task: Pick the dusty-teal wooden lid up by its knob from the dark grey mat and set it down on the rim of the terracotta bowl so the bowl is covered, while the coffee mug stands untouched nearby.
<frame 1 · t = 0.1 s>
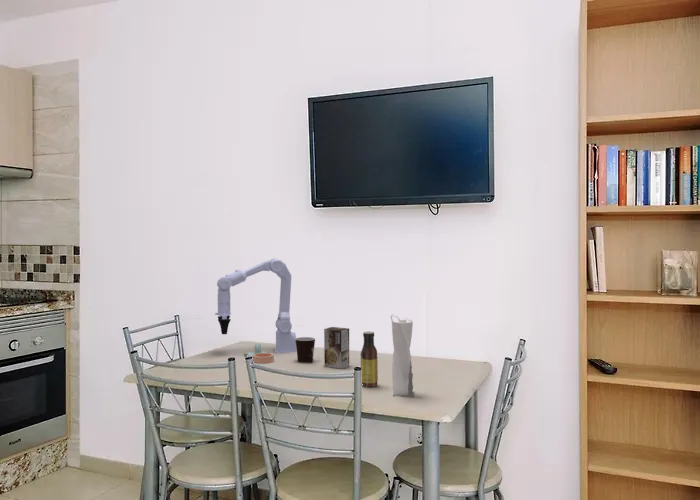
hand: (224, 332, 269), 10 cm above the table, tool pointing down, fingers open, 7 cm apart
skyscraper: (401, 394, 205), on the table
mat: (257, 356, 266), on the table
cookie box: (336, 366, 247), on the table
coffee mug: (307, 361, 256), on the table
bowl: (263, 361, 254), on the table
lid: (257, 355, 266), resting on mat
sauce bottle: (369, 386, 216), on the table
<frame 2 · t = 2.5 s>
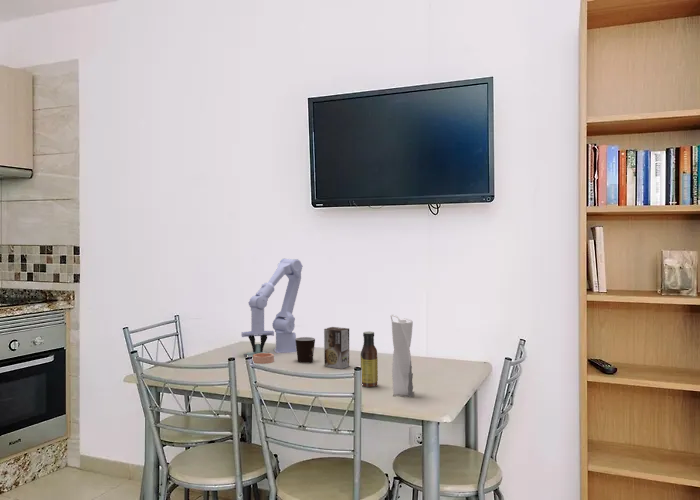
hand: (257, 351, 266), 2 cm above the table, tool pointing down, fingers closed on lid, 3 cm apart
lid: (257, 355, 266), resting on mat, touching gripper
everything else where it was.
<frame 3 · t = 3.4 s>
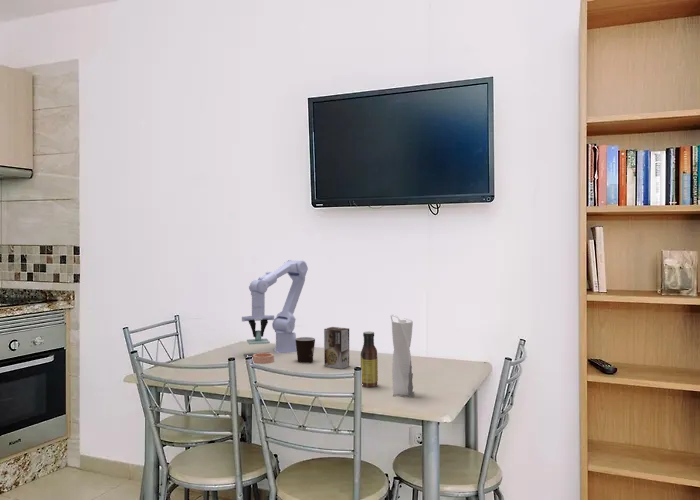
hand: (258, 336, 264), 9 cm above the table, tool pointing down, fingers closed on lid, 3 cm apart
lid: (258, 342, 264), point 7 cm above the table, touching gripper
everything else where it was.
when the fingers open (6 cm above the table, at t = 5.0 s): lid stays where it is, resting on bowl.
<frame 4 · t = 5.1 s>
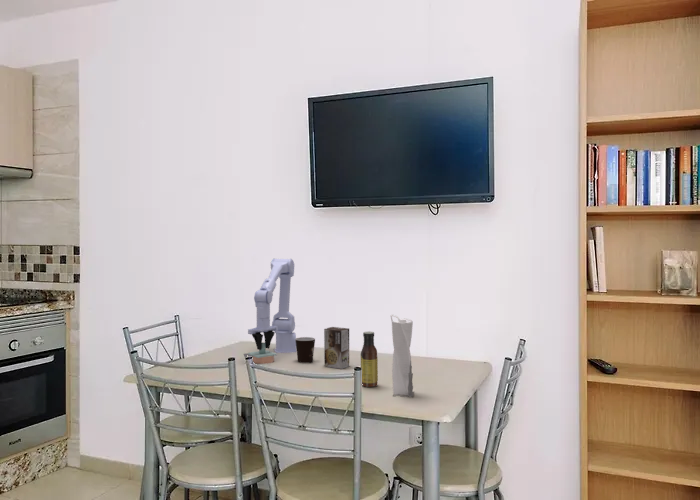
hand: (263, 348, 254), 6 cm above the table, tool pointing down, fingers open, 4 cm apart
lid: (262, 354, 255), point 3 cm above the table, touching bowl
everything else where it was.
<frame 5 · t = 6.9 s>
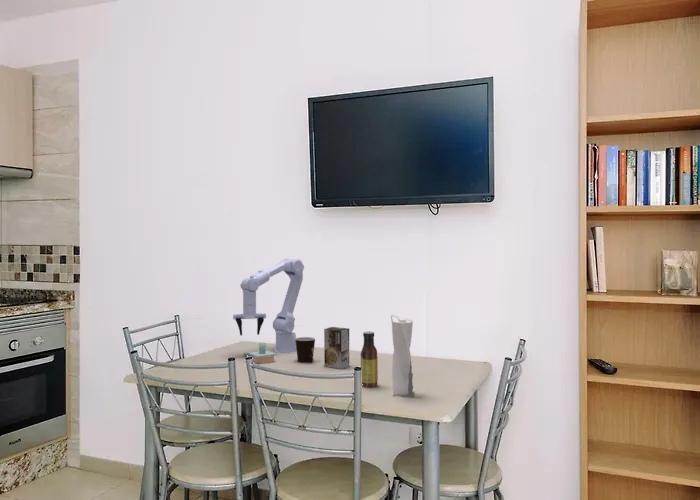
hand: (249, 334, 263), 10 cm above the table, tool pointing down, fingers open, 7 cm apart
nothing on the table moved.
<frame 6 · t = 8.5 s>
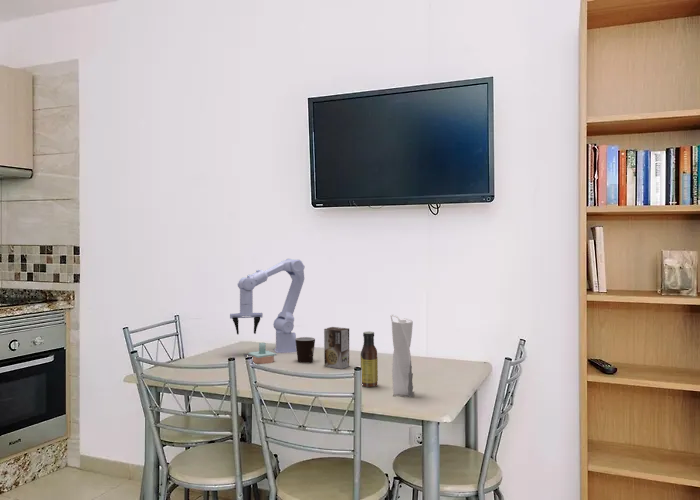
hand: (246, 333, 266), 10 cm above the table, tool pointing down, fingers open, 7 cm apart
nothing on the table moved.
at the end: lid 0.6 cm off-centre on the bowl, point 3.0 cm above the bowl's base; lid tilted 0°; the gripper is holding nothing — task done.
